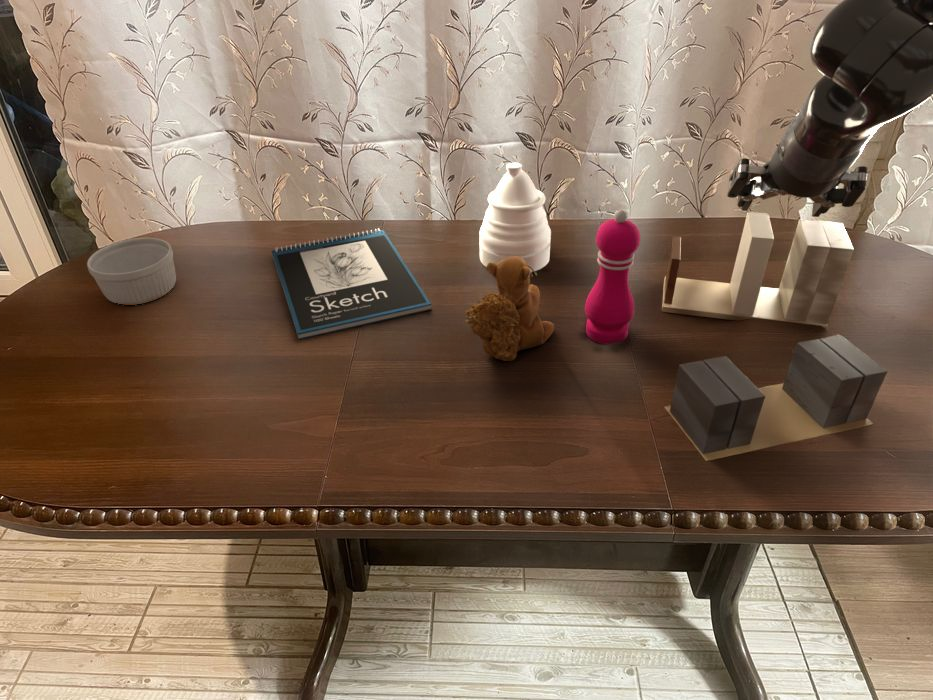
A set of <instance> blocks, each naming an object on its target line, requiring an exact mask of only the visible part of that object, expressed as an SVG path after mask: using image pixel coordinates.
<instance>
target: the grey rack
mask: <svg viewBox="0 0 933 700" xmlns="http://www.w3.org/2000/svg"><path fill="white" fill-rule="evenodd" d="M795 345H796V346H795V349H794V351H793V355H792V357H791V361H790V364H789V367H788V369H787V372H786V375H785V378H784V381H783V383H777V384H773V385H767V386H762V387H757V386H756V385H755V384H754V383H753V382H752V381H751V380H750V379H749V377H747V376H746V375H745V374H744V373H743V372H742V371H741V370H740V368H738V366H737V365H736V364H734V362H733V361H731V360H730V358H728V356H726V355H724V356H718V357H712V358H707V359H704V360H696V361H692V362H686V363H681V364H679V366H678V370H677V374H676V379H675V384H674V389H673V394H672V398H671V404H670V405H667V406H664V409H665V411H667V413H668V414H669V416H670V417H671V418H672V419H673V420H674V422H675V423H676V424H677V425H678V427H679V428H680V429H681V431H682V432H683V433H684V435H685V436H686V437H687V438H688V440H689V442H691V444H692V445H693V447H694V448H695V449H696V450H697V451H698V453H699V454H700V456H702V458H703V459H704V460H705V461H706V462H708V461H713V460H717V459H723V458H727V457H730V456H735V455H740V454H745V453H748V452H754V451H757V450H759V451H760V450H764V449H768V448H772V447H776V446H780V445H785V444H790V443H791V444H792V443H795V442H799V441H800V442H801V441H804V440H808V439H813V438H817V437H823V436H826V435H832V434H835V433H840V432H845V431H850V430H853V429H859V428H862V427H863V428H864V427H869V426H872V425H874V423H873V422H872V421H871V420H870V419H869V418H868V416H869V414H870V412H871V409H872V407H873V406H874V404H875V401H876V398H877V396H878V394H879V392H880V389H881V387H882V385H883V383H884V381H885V378H886V376H887V374H888V371H887V369H885V368H884V367H883V366H881V365H880V364H879V363H877V362H876V361H875V360H873V359H872V358H871V357H870V356H868V355H867V354H866V353H865V352H863V351H862V350H860V348H858V347H856V346H855V345H854V344H853V343H852V342H851V341H849V340H848V339H846V338H845V337H844V336H843V335H841V334H837V335H831V336H826V337H821V338H820V339H818V338H815V339H810V340H805V341H799V342H796V344H795Z"/></svg>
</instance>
